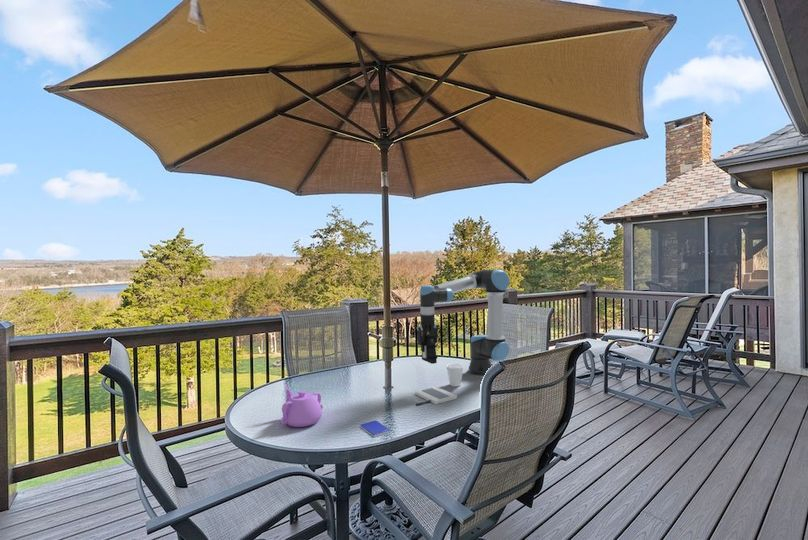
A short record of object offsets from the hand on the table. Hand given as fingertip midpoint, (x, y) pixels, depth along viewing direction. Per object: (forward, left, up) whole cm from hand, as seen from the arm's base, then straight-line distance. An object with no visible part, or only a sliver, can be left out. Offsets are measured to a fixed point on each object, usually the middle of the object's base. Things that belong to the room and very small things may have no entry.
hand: (428, 356), depth 214 cm
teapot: (+70, -3, -19) cm, 73 cm away
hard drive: (+46, +25, -20) cm, 56 cm away
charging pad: (+6, +8, -19) cm, 21 cm away
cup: (-19, 0, -19) cm, 27 cm away
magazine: (0, 0, -2) cm, 2 cm away
